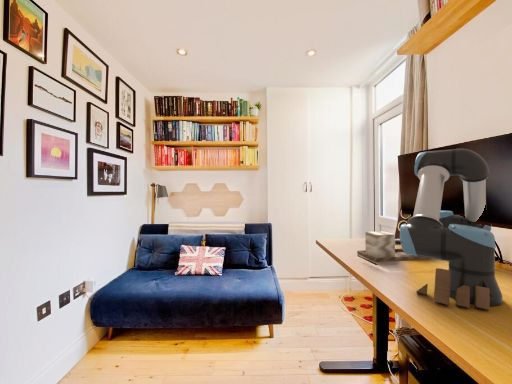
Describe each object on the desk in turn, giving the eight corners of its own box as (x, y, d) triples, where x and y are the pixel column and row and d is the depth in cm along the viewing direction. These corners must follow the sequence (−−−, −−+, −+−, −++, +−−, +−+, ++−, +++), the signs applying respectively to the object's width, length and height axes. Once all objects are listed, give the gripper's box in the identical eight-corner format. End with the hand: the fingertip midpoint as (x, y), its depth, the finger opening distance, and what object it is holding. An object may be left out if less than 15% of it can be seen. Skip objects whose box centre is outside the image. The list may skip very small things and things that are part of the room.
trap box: (375, 264, 115) (375, 258, 115) (357, 256, 129) (357, 250, 129) (453, 259, 122) (453, 253, 122) (427, 252, 137) (427, 246, 137)
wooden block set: (487, 316, 73) (487, 281, 76) (492, 316, 67) (492, 278, 69) (416, 297, 84) (418, 267, 87) (414, 295, 78) (417, 263, 80)
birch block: (376, 259, 118) (376, 235, 118) (365, 254, 127) (365, 231, 127) (394, 258, 120) (394, 234, 120) (382, 253, 129) (382, 231, 128)
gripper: (439, 250, 122) (397, 253, 118) (418, 244, 135) (380, 246, 131) (439, 235, 122) (397, 237, 118) (418, 231, 135) (380, 232, 131)
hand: (388, 242), depth 124 cm, fingers closed
